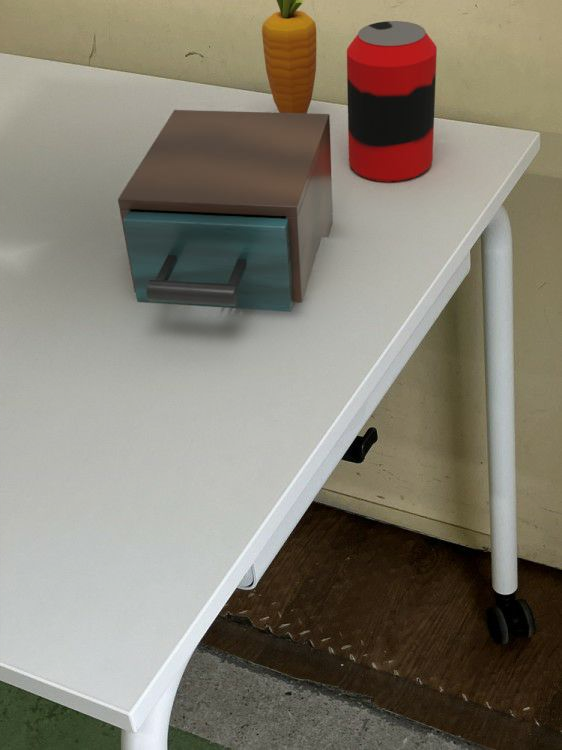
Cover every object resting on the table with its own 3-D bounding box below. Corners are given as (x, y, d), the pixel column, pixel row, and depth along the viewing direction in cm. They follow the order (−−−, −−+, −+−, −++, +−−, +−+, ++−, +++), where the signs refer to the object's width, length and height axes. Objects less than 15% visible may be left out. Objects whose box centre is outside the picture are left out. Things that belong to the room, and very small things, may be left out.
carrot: (270, 121, 100) (259, -35, 91) (319, 119, 100) (314, -37, 91) (267, 143, 96) (256, -17, 87) (319, 141, 96) (313, -19, 87)
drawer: (278, 362, 68) (271, 265, 63) (119, 351, 70) (100, 256, 66) (321, 225, 82) (317, 137, 77) (186, 219, 84) (174, 132, 79)
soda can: (407, 138, 96) (410, 11, 88) (447, 171, 90) (454, 38, 82) (335, 156, 94) (331, 27, 86) (371, 190, 88) (371, 56, 80)
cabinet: (303, 323, 73) (296, 206, 67) (137, 312, 76) (117, 198, 70) (332, 221, 84) (329, 113, 78) (187, 214, 87) (173, 109, 81)
